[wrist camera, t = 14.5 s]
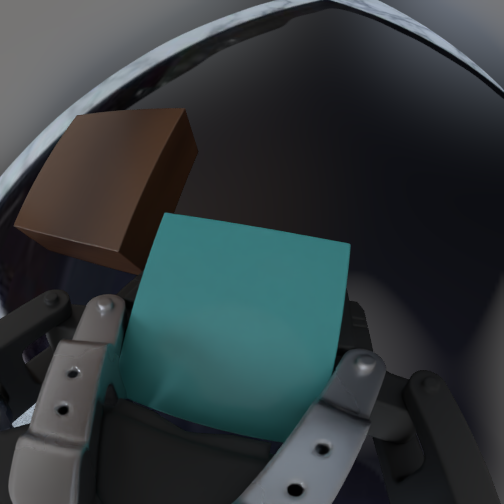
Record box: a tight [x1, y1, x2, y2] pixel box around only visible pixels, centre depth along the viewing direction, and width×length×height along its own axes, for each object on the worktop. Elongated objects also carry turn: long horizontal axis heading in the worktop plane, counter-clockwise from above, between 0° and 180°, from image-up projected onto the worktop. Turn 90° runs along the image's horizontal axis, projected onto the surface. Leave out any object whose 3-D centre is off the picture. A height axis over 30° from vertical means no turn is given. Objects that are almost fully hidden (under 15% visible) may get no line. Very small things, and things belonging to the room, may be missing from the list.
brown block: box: [14, 108, 198, 275], centre depth 15 cm, size 9×9×4 cm
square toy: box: [119, 213, 350, 443], centre depth 9 cm, size 6×6×6 cm
